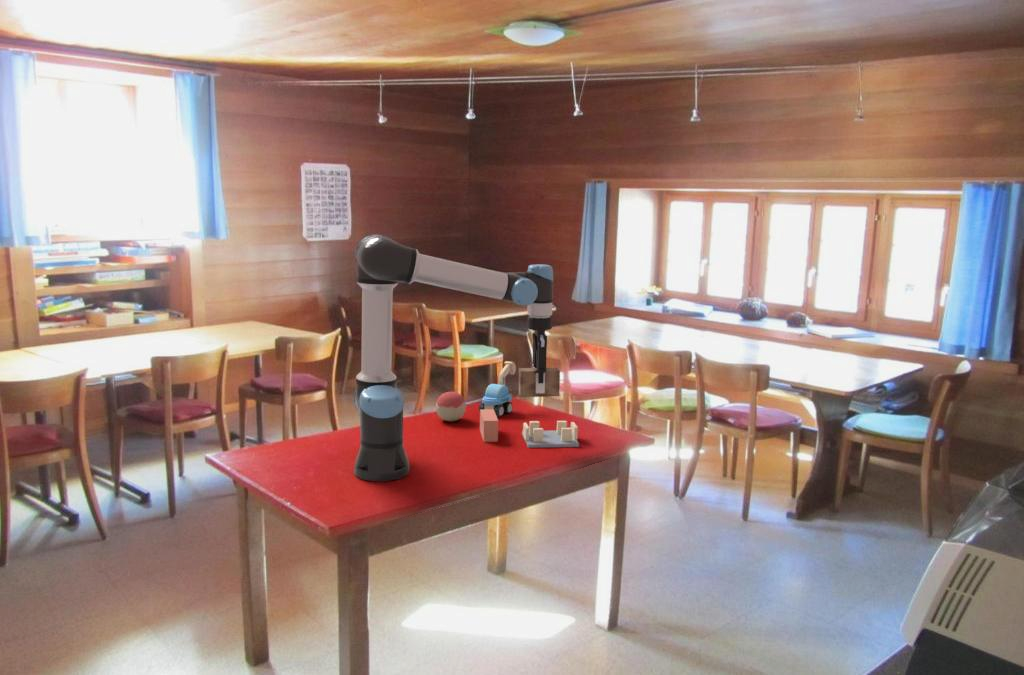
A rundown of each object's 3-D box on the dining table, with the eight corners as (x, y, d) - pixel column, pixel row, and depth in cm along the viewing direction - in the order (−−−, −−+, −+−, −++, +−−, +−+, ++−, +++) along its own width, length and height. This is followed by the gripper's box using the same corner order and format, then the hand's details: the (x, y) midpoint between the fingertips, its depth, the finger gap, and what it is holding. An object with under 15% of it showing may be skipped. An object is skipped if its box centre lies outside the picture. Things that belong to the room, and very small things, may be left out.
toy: (469, 416, 279) (470, 388, 277) (461, 425, 267) (461, 397, 266) (442, 414, 281) (442, 386, 279) (432, 423, 269) (432, 394, 267)
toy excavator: (522, 408, 291) (523, 362, 288) (497, 418, 277) (498, 370, 274) (502, 404, 295) (504, 359, 292) (477, 414, 282) (477, 367, 278)
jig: (527, 447, 247) (527, 432, 246) (521, 433, 260) (521, 419, 260) (579, 446, 249) (580, 431, 248) (570, 433, 263) (571, 418, 262)
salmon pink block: (483, 442, 251) (484, 420, 250) (479, 430, 264) (480, 409, 263) (497, 442, 252) (498, 420, 251) (493, 429, 265) (493, 409, 263)
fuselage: (520, 397, 243) (520, 371, 242) (518, 393, 247) (518, 368, 246) (559, 396, 244) (559, 370, 243) (556, 392, 249) (557, 367, 247)
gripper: (557, 320, 233) (555, 398, 238) (547, 311, 250) (546, 383, 255) (531, 321, 232) (530, 398, 237) (524, 311, 249) (523, 384, 254)
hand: (538, 390), depth 246 cm, fingers closed on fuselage, 4 cm apart
